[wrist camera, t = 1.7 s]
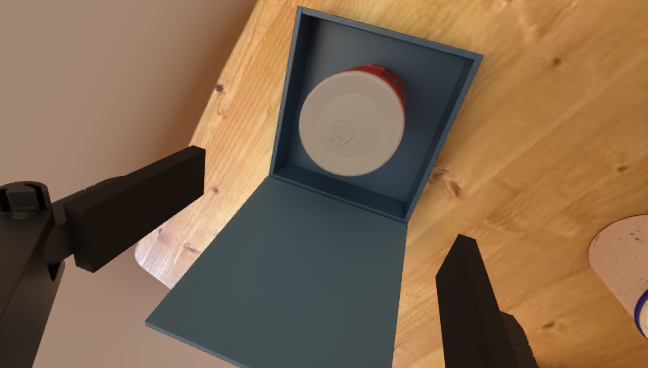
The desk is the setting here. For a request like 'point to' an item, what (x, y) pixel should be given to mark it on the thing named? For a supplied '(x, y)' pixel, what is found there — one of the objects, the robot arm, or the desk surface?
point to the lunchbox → (420, 118)
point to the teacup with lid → (625, 265)
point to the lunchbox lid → (292, 285)
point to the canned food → (354, 120)
